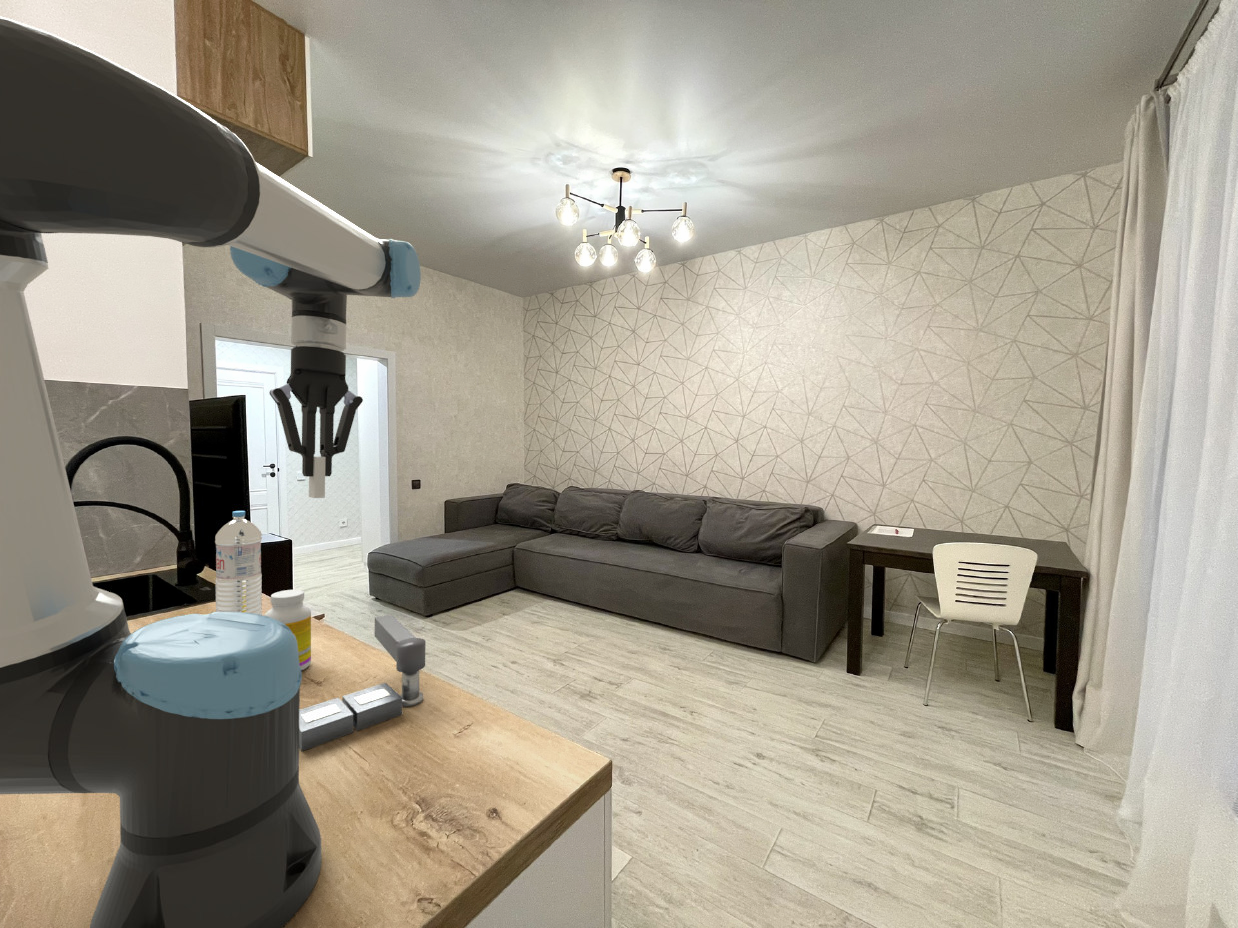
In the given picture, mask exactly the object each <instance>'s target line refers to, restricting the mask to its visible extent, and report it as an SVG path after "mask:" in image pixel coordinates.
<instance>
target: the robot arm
mask: <svg viewBox="0 0 1238 928" xmlns="http://www.w3.org/2000/svg"><path fill="white" fill-rule="evenodd" d="M42 234H89V235H90V234H92V235H93V234H96V235H101V234H102V235H104V234H105V235H119V236H121V235H122V236H137V237H138V236H139V237H142V236H143V237H152V238H153V237H154V238H159V239H160V238H162V239H169V240H173V241H175V242H179V243H182V244H186V245H190V246H192V247H195V248H196V247H198V248H205V249H213V248H220V247H225V246H229V247H230V248H229V250H230V257H231V260H232V262H233V264H234V265H235V267H236V268H237V270H238V271H239V272H241V273H242V274H243V275H244V276H246V277H248V278H249V279H251V280H253V281H254V282H255V283H256V284H258V285H259V286H262V287H263V288H266V289H270V290H272V291H273V292H275V293H277V294H279V295H282V296H284V297H285V298H287V299H290V300H291V329H290V330H291V331H290V333H291V335H290V343H291V344H292V345H293V347H292V348H291V349H290V373H289V377H288V378H287V380H286V384H284V385H282V386H280V387H276V388H273V389H271V390H269V395H270V397H271V398H272V400H273V401H274V403H276V405H277V411H278V413H279V417H280V421H281V424H282V429H283V431H284V432H283V433H284V437H285V439H286V444H287V446H288V450H289V451H290V452H294V453H296V454H299V455H301V457H302V458H301V459H302V463H301V466H302V468H301V474H302V476H303V477H308V498H312V499H324V498H326V477H331V476H332V472H333V471H332V469H333V456H335V455H337V454H341V453H344V452H345V451H346V447H347V445H348V441H349V436H350V433H351V431H352V430H351V429H352V427H353V423H354V419H355V415H356V413H357V410H358V408H359V407H360V406H361V405H362V403H363V402H364V400H363V397H362V396H358V395H356V394H354V393H353V392H352V391H350V389H349V385H348V383H347V381H346V375H347V369H346V368H347V365H346V364H347V355H346V354H345V353H344V352H343V351H345V350H346V349H347V304H348V302H347V299H348V298H347V297H348V296H360V297H361V296H362V297H379V298H391V299H396V298H412V297H414V296H416V295H417V294H418V291H419V289H420V285H421V279H422V278H421V277H422V276H421V265H420V259H419V257H418V254H417V251H416V249H415V247H414V245H412V244H411V243H410V242H408V241H406V240H405V241H403V240H397V239H393V238H388V239H380V238H378V237H375V236H373V235H372V234H370V233H368V232H367V231H365V230H363V229H362V228H360V227H358V226H357V225H355V223H352V222H351V221H349V220H348V219H346V218H345V217H343V216H342V215H340V214H338V213H336V211H333V210H332V209H330V208H329V207H327V206H326V205H324V204H322V203H321V202H320V201H318V200H316V199H315V198H313V197H311V196H310V195H308V194H307V193H305V192H303V191H301V190H300V189H299V188H297V187H295V186H294V185H293V184H290V182H288V181H286V180H285V179H283V178H281V177H280V176H278V175H277V174H275V173H274V172H272V171H270V170H269V169H268V168H266V167H264V166H263V165H261V164H260V163H258V162H256V160H255V157H254V156H253V154H252V153H251V151H250V149H249V148H248V147H247V146H246V144H245V143H244V142H243V141H242V139H240V138H239V137H238V136H237V134H236V133H234V132H232V131H231V130H229V129H228V128H227V127H226V126H224V125H223V124H222V123H220V122H218V121H216V120H215V119H214V118H212V117H211V116H209V115H207V114H206V113H205V112H203V111H201V109H199V108H196V107H195V106H194V105H192V104H191V103H189V102H187V101H186V100H184V99H183V98H181V97H179V96H177V95H175V94H173V93H172V92H170V91H168V90H166V88H164V87H161V86H160V85H158V83H157V84H156V83H155V82H153V81H150V80H149V79H147V78H145V77H143V76H141V75H139V74H138V73H136V72H134V71H132V70H130V69H128V68H126V67H124V66H122V65H120V64H118V63H116V62H114V61H112V60H110V59H108V58H106V57H104V56H102V55H100V54H98V53H96V52H94V51H92V50H90V49H87V48H86V47H83V46H81V45H78V44H76V43H73V42H72V41H69V40H67V39H65V38H62V37H61V36H58V35H55V34H53V33H50V32H47V31H45V30H43V29H40V28H36V27H34V26H32V25H28V24H26V23H22V22H20V21H17V20H14V19H10V18H7V17H3V16H0V795H36V794H37V795H40V794H41V795H42V794H51V795H52V794H116V795H117V796H118V797H119V819H120V824H119V825H120V830H119V831H120V841H119V843H120V844H119V847H118V849H117V851H116V855H115V857H114V860H113V863H112V865H111V868H110V870H109V873H108V875H107V878H106V880H105V884H104V886H103V889H102V891H101V893H100V896H99V899H98V900H97V901H98V902H97V905H96V906H95V907H96V908H95V910H94V911H93V914H92V917H91V921H90V924H89V928H282V927H284V926H285V925H286V924H287V923H288V922H289V921H290V920H291V919H292V918H293V917H294V916H295V914H296V913H297V912H298V911H299V909H301V907H302V906H303V904H304V903H306V901H307V899H308V898H309V896H310V894H311V893H312V891H313V890H314V887H315V886H316V885H317V884H316V883H317V881H318V879H319V876H320V871H321V868H322V836H321V831H320V828H319V826H318V823H317V821H316V818H315V816H314V814H313V812H312V810H311V808H310V807H311V806H310V804H309V803H308V801H307V798H306V796H305V793H304V792H303V789H302V787H301V785H300V779H299V778H300V748H299V712H300V707H301V706H300V703H301V701H300V699H301V698H300V696H301V695H300V694H301V693H300V691H301V689H300V687H301V684H302V681H303V678H302V677H303V676H302V671H301V668H300V665H299V655H298V645H297V640H296V637H295V635H294V634H293V633H292V632H291V630H290V629H289V628H288V627H287V626H286V625H285V624H284V623H282V622H280V621H278V620H276V619H273V618H271V617H267V616H265V614H264V615H263V614H262V615H259V614H252V613H244V612H216V611H212V612H211V613H207V614H200V613H190V614H183V615H177V616H173V617H168V618H164V619H160V620H157V621H154V622H151V623H149V624H147V625H144V626H141V627H140V628H138V629H136V630H134V631H133V632H132V633H131V631H130V627H129V624H128V617H127V615H126V612H125V607H124V602H123V599H122V598H121V597H120V596H119V595H118V594H116V593H114V592H111V591H110V592H109V591H107V590H105V589H102V588H98V587H97V586H94V584H93V581H92V576H91V572H90V567H89V564H88V560H87V555H86V551H85V548H84V543H83V538H82V535H81V530H80V529H81V528H80V525H79V520H78V517H77V513H76V508H75V505H74V501H73V496H72V491H71V488H70V487H71V486H70V482H69V479H68V475H67V474H68V473H67V470H66V466H65V462H64V458H63V454H62V449H61V445H60V440H59V438H58V437H59V436H58V431H57V429H56V423H55V420H54V419H55V418H54V416H53V411H52V406H51V402H50V398H49V394H48V390H47V386H46V382H45V377H44V373H43V369H42V365H41V361H40V356H39V352H38V348H37V344H36V339H35V338H36V337H35V335H34V329H33V327H32V322H31V318H30V313H29V309H28V306H27V305H28V304H27V300H26V296H25V292H24V291H25V290H26V288H27V287H28V286H29V284H31V282H33V281H34V280H35V279H36V278H38V277H39V276H40V275H42V274H43V273H44V272H46V271H47V270H49V264H48V263H49V261H48V257H47V252H46V248H45V244H44V240H43V235H42ZM291 393H292V394H293V395H294V397H295V398H296V400H297V401H298V402H299V403H300V405H301V406H300V407H301V414H302V415H301V416H302V417H301V419H302V420H301V438H300V435H299V429H298V427H297V422H296V418H295V414H294V410H293V406H292V404H291V401H290V399H291V398H292V395H291ZM342 399H343V404H344V406H343V409H342V411H341V415H340V417H339V422H338V426H337V429H336V433H335V436H334V422H335V421H334V420H335V419H334V417H335V416H334V415H335V412H336V406H337V405H338V403H339V402H340V401H341V400H342ZM318 411H319V417H320V419H319V426H320V427H319V454H320V456H317V455H315V454H316V429H317V428H316V427H317V425H316V423H317V422H316V420H317V419H316V418H317V412H318Z"/></svg>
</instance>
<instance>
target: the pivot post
mask: <svg viewBox="0 0 1238 928" xmlns="http://www.w3.org/2000/svg"><path fill="white" fill-rule="evenodd" d="M401 676H402V677H401V686H402V687H401V694H399V695H400V696H401V697H402V708H404V707H406V708H407V707H414V706H417V705H419V704H420V703H422V702H423V701H424V693H423V692H422V691H420V670H419V671H415V672H410V673H403V672H401Z"/></svg>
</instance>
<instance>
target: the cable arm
mask: <svg viewBox="0 0 1238 928" xmlns="http://www.w3.org/2000/svg"><path fill="white" fill-rule="evenodd" d="M374 637H375V639H377V641H378V642H379V643H380V645H382V647H383V648H384V649H385V651H387V653H388V654H389V655H390V656H391V658H392V659H393V660H394V661H395V662H396V664H395V665H396V671H397V672H399V673H402V672H403V673H410V672H415V671H419V670H422V669H424V668H425V667H426V646H427V645H426V639H424V638H421V637H416V636H415V635H414V634H413V633H412V632H411V631H410V630H409V629H408V628H407V627H406V626H404V624H403V623H401V622H400V621H399V620H398V618H396V617H395V616H394V614H386V615H380V616H375V617H374Z"/></svg>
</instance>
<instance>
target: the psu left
mask: <svg viewBox="0 0 1238 928" xmlns="http://www.w3.org/2000/svg"><path fill="white" fill-rule="evenodd" d="M339 697H340V696H339ZM339 697H336V698H332V699H329V700H326V701H323V702H320V703H317V704H312V705H310V706H307V707H305V708H301V709H300V712H299V751H301V752H304V751H306V750H310V749H312V748H314V747H317V746H318V747H319V746H320V745H323V744H326V743H328V742H332V741H334V740H336V739H339V738H343V737H344V736H347V735H348V736H349V735H350V734H353V733H354V727H353V713H352V712H351V711H350V710H349V709H348V708H347V706H346V705H345V704H344V703H343V702H342V700H341V699H340V698H339Z"/></svg>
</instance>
